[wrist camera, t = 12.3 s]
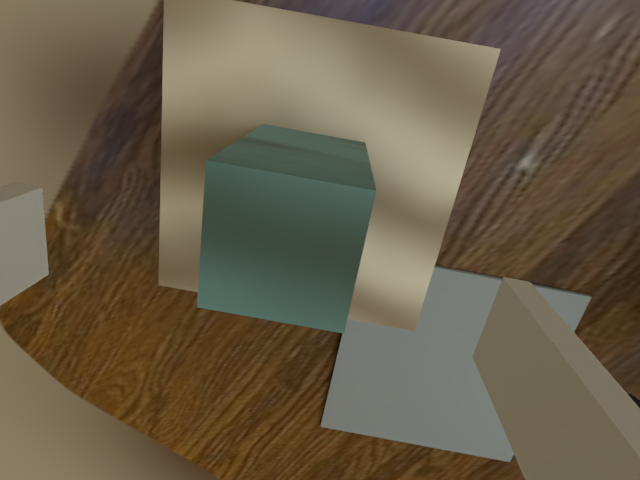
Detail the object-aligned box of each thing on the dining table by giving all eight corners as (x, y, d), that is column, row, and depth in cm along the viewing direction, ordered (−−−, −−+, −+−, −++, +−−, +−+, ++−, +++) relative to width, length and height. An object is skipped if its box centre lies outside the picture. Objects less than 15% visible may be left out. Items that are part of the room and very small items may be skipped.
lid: (411, 319, 25) (448, 464, 16) (166, 275, 25) (60, 395, 16) (492, 50, 19) (622, 31, 10) (174, -8, 19) (15, -80, 10)
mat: (508, 458, 39) (509, 462, 39) (320, 423, 39) (320, 426, 39) (588, 294, 32) (591, 297, 32) (361, 251, 32) (361, 253, 32)
